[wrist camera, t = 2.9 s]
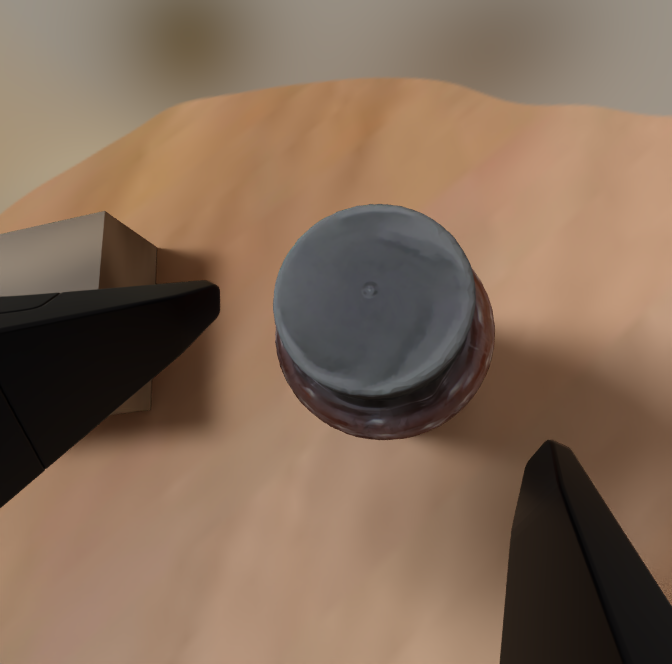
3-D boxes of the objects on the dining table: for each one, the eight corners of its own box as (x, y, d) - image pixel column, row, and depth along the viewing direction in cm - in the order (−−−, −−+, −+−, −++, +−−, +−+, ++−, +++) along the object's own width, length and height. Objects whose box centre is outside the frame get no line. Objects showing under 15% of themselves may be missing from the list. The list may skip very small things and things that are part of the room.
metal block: (150, 409, 19) (88, 407, 16) (0, 427, 21) (-90, 429, 17) (156, 247, 22) (104, 211, 18) (22, 273, 24) (-52, 245, 20)
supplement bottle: (342, 305, 19) (259, 152, 8) (458, 317, 18) (546, 153, 7) (323, 419, 18) (194, 418, 7) (447, 441, 16) (532, 483, 5)
